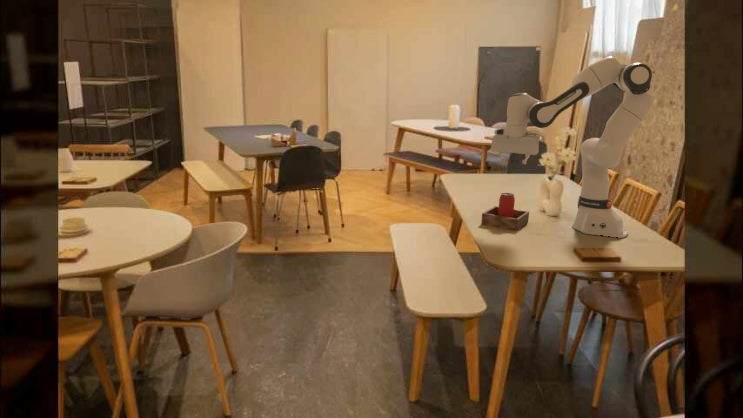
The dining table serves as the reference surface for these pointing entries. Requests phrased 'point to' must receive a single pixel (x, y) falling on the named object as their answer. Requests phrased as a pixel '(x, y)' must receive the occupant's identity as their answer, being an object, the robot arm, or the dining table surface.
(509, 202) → the beer can
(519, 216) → the walnut box
